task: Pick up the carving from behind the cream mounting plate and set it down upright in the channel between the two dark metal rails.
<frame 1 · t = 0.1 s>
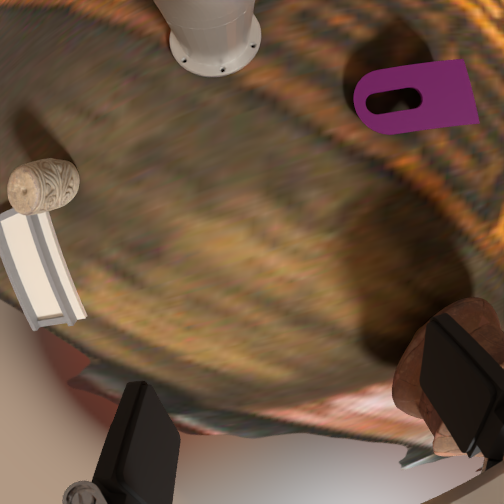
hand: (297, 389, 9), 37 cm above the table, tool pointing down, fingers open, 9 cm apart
carving: (66, 179, 42), on the table
pottery vessel: (430, 338, 55), on the table
mounting bracket: (402, 100, 40), on the table
rail plate: (35, 265, 46), on the table
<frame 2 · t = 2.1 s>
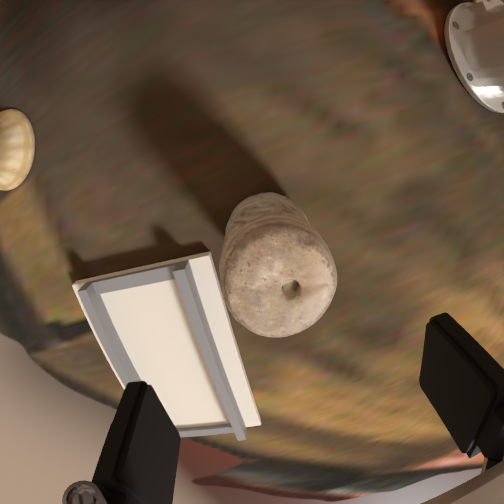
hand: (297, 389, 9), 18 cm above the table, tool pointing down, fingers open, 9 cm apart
carving: (265, 227, 27), on the table
hand bell: (7, 149, 23), on the table
rail plate: (174, 362, 31), on the table
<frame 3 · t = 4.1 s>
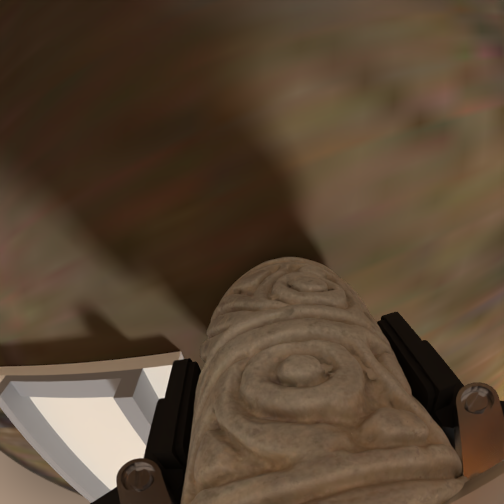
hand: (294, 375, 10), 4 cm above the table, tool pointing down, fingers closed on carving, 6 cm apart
carving: (279, 311, 14), on the table, touching gripper
rail plate: (145, 471, 18), on the table
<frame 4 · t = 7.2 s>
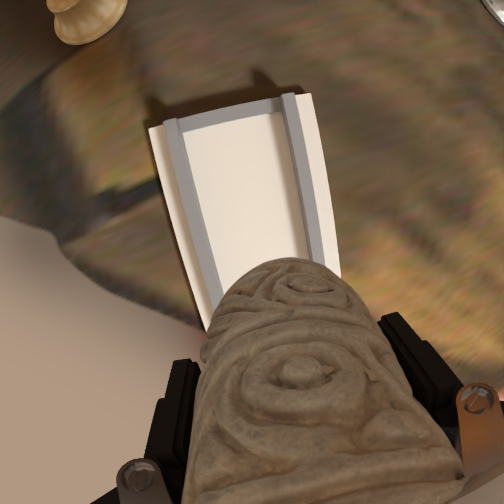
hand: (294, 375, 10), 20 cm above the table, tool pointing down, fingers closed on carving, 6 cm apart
carving: (279, 312, 14), point 15 cm above the table, touching gripper
hand bell: (90, 10, 21), on the table
rail plate: (255, 228, 29), on the table
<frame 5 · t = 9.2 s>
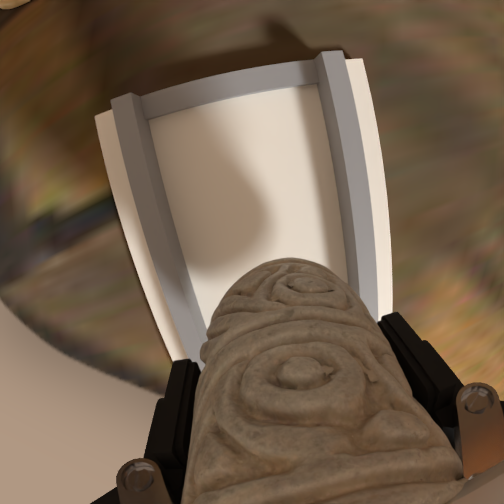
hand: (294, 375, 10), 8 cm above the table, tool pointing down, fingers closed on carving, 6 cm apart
carving: (279, 312, 14), point 4 cm above the table, touching gripper
rail plate: (270, 276, 18), on the table
when the fingers open (6 cm above the table, at t = 10.6 s): carving drops 1 cm, resting on rail plate.
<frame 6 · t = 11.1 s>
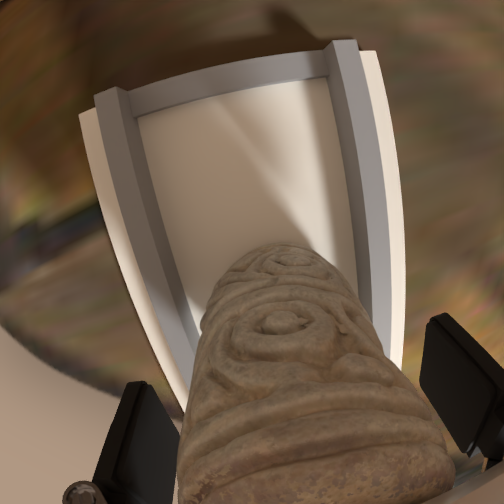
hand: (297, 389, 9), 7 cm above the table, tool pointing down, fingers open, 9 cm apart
carving: (274, 295, 15), point 1 cm above the table, touching rail plate
rail plate: (273, 290, 16), on the table
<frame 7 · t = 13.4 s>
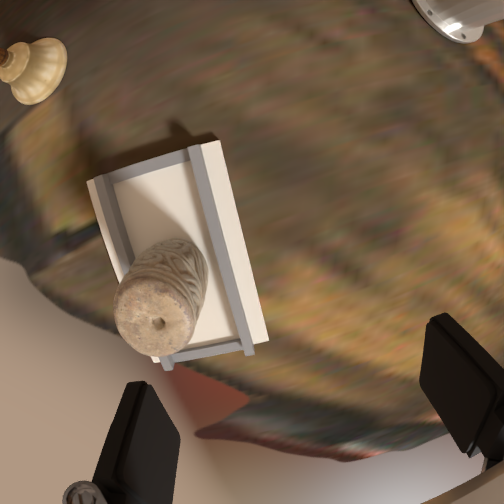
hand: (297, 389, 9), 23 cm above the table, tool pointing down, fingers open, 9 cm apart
carving: (178, 264, 32), point 1 cm above the table, touching rail plate
hand bell: (39, 70, 25), on the table
rail plate: (180, 262, 32), on the table
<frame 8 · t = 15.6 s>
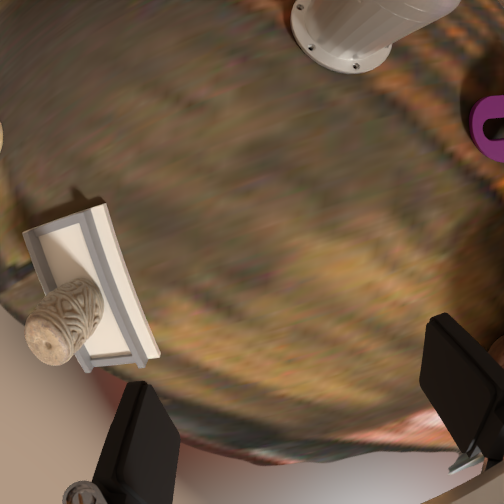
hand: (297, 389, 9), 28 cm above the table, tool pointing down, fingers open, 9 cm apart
carving: (86, 295, 38), point 1 cm above the table, touching rail plate
pottery vessel: (500, 349, 48), on the table
mounting bracket: (502, 125, 33), on the table
rail plate: (89, 294, 39), on the table
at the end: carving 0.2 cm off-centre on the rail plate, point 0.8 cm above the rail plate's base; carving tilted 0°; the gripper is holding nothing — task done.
